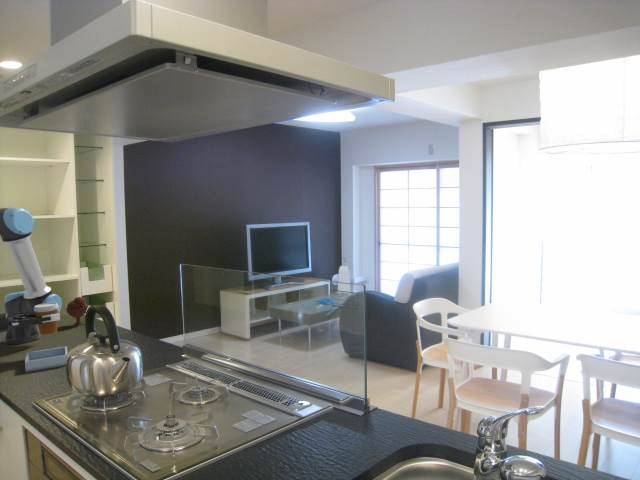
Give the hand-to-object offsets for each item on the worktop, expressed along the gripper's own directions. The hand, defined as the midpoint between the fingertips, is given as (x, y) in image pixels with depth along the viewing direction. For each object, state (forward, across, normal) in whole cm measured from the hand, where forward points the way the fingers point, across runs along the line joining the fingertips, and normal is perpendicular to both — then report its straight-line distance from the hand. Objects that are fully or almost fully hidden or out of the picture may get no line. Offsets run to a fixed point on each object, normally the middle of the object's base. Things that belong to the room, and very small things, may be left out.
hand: (59, 314), depth 215 cm
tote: (-6, +15, -16) cm, 23 cm away
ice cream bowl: (+8, -52, -17) cm, 55 cm away
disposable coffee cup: (-5, 0, -7) cm, 9 cm away
